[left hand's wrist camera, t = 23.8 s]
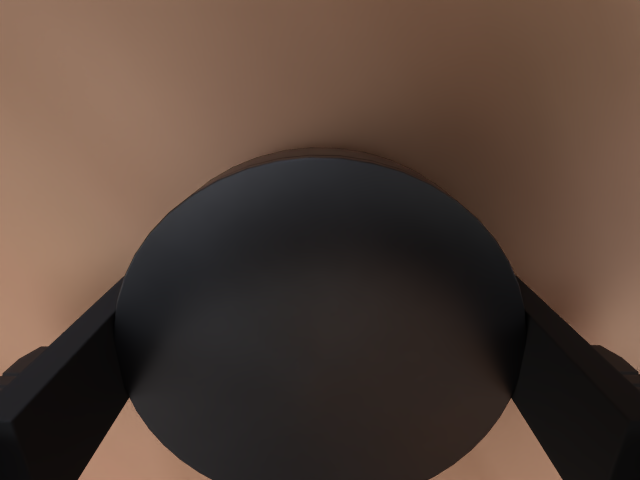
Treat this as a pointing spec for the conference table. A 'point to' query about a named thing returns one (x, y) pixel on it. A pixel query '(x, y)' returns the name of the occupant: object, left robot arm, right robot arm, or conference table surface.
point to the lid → (320, 323)
